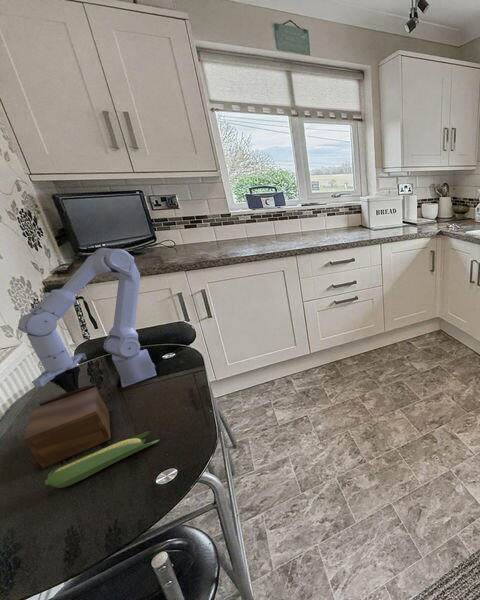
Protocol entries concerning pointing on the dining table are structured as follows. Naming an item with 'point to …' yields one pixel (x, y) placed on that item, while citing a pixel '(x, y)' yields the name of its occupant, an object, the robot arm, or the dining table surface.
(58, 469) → the edible corn
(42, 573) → the dining table surface
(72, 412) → the cabinet
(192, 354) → the dining table surface
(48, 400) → the drawer
